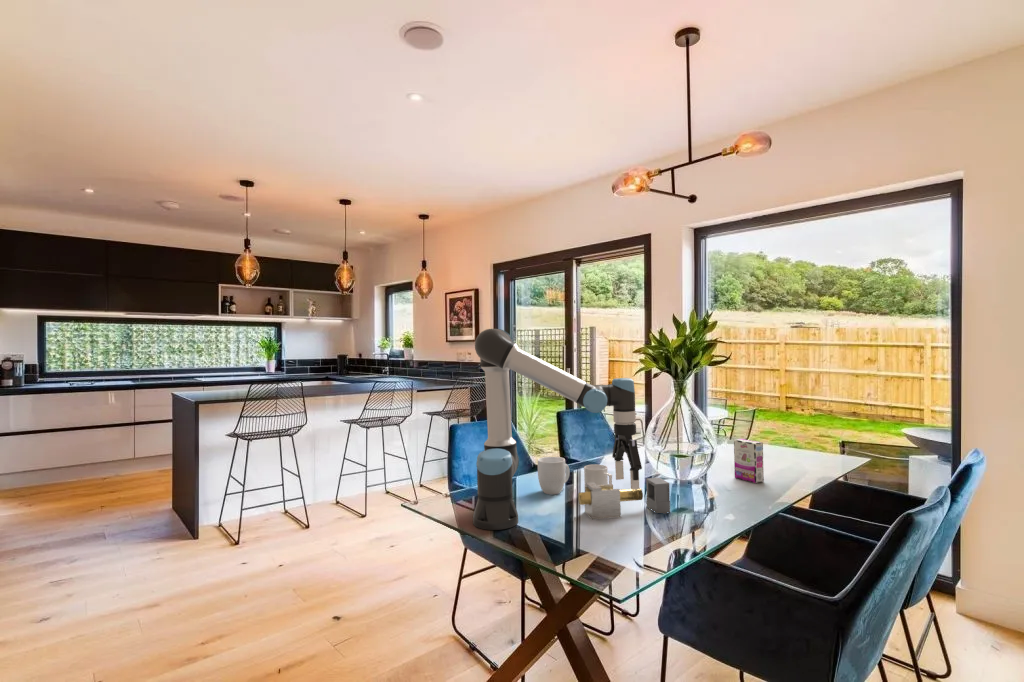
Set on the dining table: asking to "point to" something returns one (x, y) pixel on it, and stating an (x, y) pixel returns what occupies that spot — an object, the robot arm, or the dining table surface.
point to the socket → (658, 495)
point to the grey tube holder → (603, 501)
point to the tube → (624, 496)
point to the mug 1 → (552, 474)
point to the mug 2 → (597, 474)
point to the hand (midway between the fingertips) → (627, 484)
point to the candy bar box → (748, 460)
